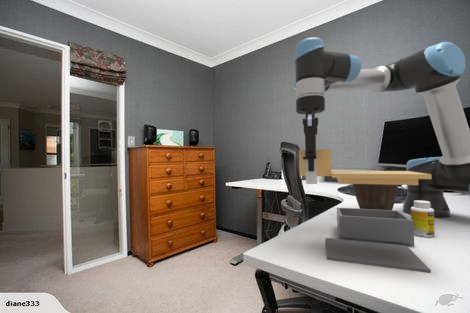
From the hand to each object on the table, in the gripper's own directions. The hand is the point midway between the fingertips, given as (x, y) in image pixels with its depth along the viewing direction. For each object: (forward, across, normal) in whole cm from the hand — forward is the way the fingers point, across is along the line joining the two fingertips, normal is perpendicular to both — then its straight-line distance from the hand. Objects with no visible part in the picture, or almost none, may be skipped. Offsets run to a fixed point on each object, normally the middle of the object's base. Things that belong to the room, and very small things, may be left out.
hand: (311, 182), depth 61 cm
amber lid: (0, 0, +10) cm, 11 cm away
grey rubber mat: (+17, 0, +13) cm, 22 cm away
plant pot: (+17, -33, +21) cm, 43 cm away
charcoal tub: (+17, -14, +16) cm, 28 cm away
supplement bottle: (+17, -20, +31) cm, 41 cm away
